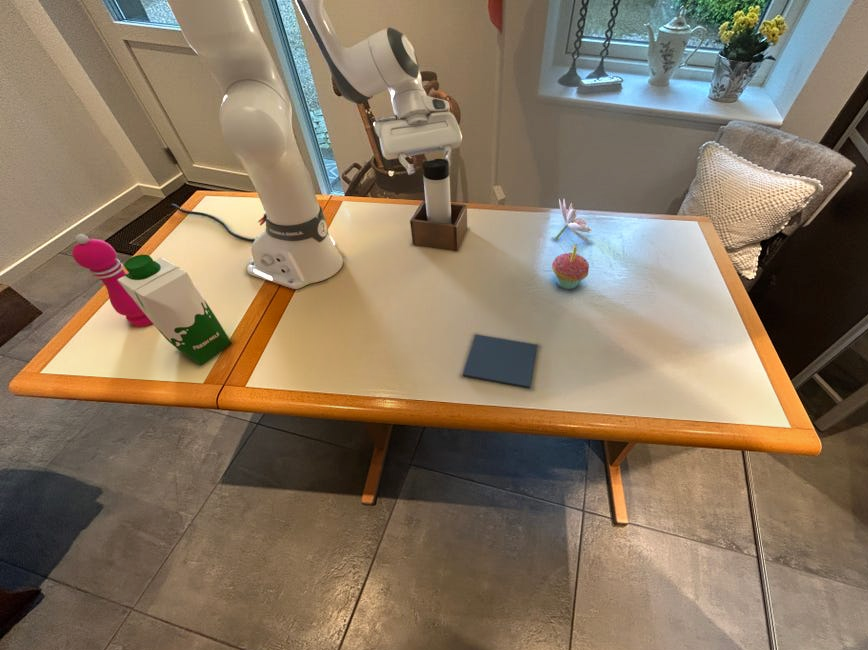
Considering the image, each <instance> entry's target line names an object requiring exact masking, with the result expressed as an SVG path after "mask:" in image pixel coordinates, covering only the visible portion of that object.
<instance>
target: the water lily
mask: <svg viewBox="0 0 868 650" xmlns="http://www.w3.org/2000/svg"><path fill="white" fill-rule="evenodd" d="M558 202H559V203H558V204H559V209H560V213H561V216H562V218H563V220H564V223H565V226H563V228H562V229H561V230H560V231H559V232H558V234H557V235H556V236H555V238H554V240H556V241H557V240H558V239H559V237H560V236H561V235H562V233H564V232H565V230H566V229H567V228H568V229H569V230H570V231H571V232H572V233H573V234H574V235H576V237H578V238H579V239H581V240H582V241H584V242H585V243H588V244H591V242H590V241H589V240H588V238H586V237H585V236H584V235H582V233H591V232H592V229H591V228H590V227H589V226H586V225H587V224H588V222H587V221H585V219H584V218H582V217H577V210H576V209H574V207H573V202H572V201H571V202H570V205H569V207H568V209H567V205H566V199H563V203H562V201H561V198H559V199H558ZM567 210H568V211H567ZM579 232H581V233H579Z"/></svg>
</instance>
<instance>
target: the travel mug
mask: <svg viewBox="0 0 868 650" xmlns="http://www.w3.org/2000/svg"><path fill="white" fill-rule="evenodd" d="M422 177H423V184H424V185H423V187H424V198H425V199H424V200H426V210H427V221H429V222H436V223H444V224H452V223H451V203H452V202H451V179H450V167H449V162H448V161H447V160H445V158H434V159H430V160H425V161H423V162H422Z"/></svg>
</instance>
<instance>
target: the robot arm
mask: <svg viewBox="0 0 868 650" xmlns="http://www.w3.org/2000/svg"><path fill="white" fill-rule="evenodd" d="M165 1H166V3H167V5H168V7H169V9H170V11H171V13H172V15H173V17H174V19H175V20H176V21H175V22H177V24H178V27H179V29H180V31H181V33H182V35H183V37H184V39H185V41H186V43H187V44H188V45H189V47H190V48H191V49H192V50H193V51H194V52H195V53H196V55H197V56H198V57H199V58H200V60H201V62H202V63H203V65H204V66H205V68H206V69H207V70H208V72H209V74H210V76H211V77H212V78H213V80H214V82H215V84H216V85H217V87H218V89H219V92H220V94H221V98H222V101H221V104H220V107H219V111H218V120H219V126H220V131H221V134H222V137H223V139H224V142H225V144H226V146H227V147H228V149H229V150H230V151H231V152H232V153H233V154H234V155H235V157H236V159H237V160H238V162H239V163H240V165H241V166H242V169H244V171H245V173H246V174H247V176H248V177H249V179H250V181H251V183H252V185H253V187H254V189H255V191H256V193H257V196H258V199H259V201H260V203H261V206H262V207H263V210H264V213H263V216H262V217H260V219H259V220H258V221H257V222H258V223H259V226H262V225H264V224H265V228H264V229H263V231H261V233H260V234H258V235H257V236H256V237H255V238H249V237H245V236H242V235H239V234H237V233H235V232H233V231H232V230H231V229H230V228H229V227H228V225H227V224H226V223H225V222H224V221H223V220H221V219H219V218H218V217H216V216H214V215H212V214H209V213H206V212H200V211H192V210H186V209H185V208H184V209H183V208H182V207H180V206H178V205H177V204H175V203H171V204H170V205H169V208H170V209H173V208H175V209H176V210H178V211H180V212H181V213H184V214H190V215H195V216H196V215H197V216H204V217H206V218H210V219H212V220H214V221H215V222H217V223H219V224H220V225H221V226H223V228H224V229H225V230H226V232H227V233H228V234H229V235H231V236H232V237H234V238H237V239H239V240H242V241H245V242H249V243H250V242H252V245H251V249H250V251H251V256H252V257H251V258H250V260H249V261H248V264H247V267H246V271H247V274H248V275H250V276H253V277H256V278H259V279H262V280H265V281H268V282H271V283H274V284H277V285H280V286H283V287H286V288H289V289H292V290H298V289H299V290H300V289H301V288H303V287H305V286H307V285H311V284H314V283H319V282H323V281H325V280H327V279H329V278H332V277H333V276H335V275H336V274H337V273H338V272H339V271H340V270H341V268H342V267H343V263H344V258H343V256H342V255H341V253H340V252H339V250H338V249H337V247H336V242H335V241H334V239H333V237H332V236H331V235H330V233H329V230H328V223H327V220H326V217H325V213H324V211H323V208H322V206H321V205H320V204H319V201H318V198H317V194H316V191H315V188H314V184H313V181H312V178H311V175H310V172H309V169H307V167H306V163H305V162H304V160H303V157H302V155H301V152H300V150H299V147H298V145H297V141H296V138H295V135H294V130H293V123H292V121H293V120H292V118H293V117H292V115H293V108H292V102H291V100H290V97H289V95H288V92H287V90H286V87H285V85H284V82H283V80H282V78H281V76H280V74H279V71H278V69H277V66H276V63H275V62H274V60H273V58H272V55H271V53H270V51H269V49H268V47H267V45H266V43H265V40H264V39H263V36H262V34H261V31H260V29H259V27H258V24H257V21H256V19H255V16H254V13H253V12H252V8H251V6H250V3H249V1H248V0H165ZM294 1H295V3H296V6H297V7H298V9H299V11H300V13H301V16H302V18H303V19H304V22H305V24H306V26H307V27H308V30H309V31H310V33H311V35H312V38H313V39H314V41H315V43H316V45H317V47H318V49H319V51H320V53H321V55H322V57H323V58H324V60H325V63H326V65H327V67H328V69H329V71H330V74H331V77H332V78H333V81H334V83H335V85H336V88H337V89H338V91H339V93H340V94H341V96H342V97H343V99H346V100H347V101H349V102H351V103H354V104H357V105H363V104H364V103H366V102H367V101H369V100H370V99H372V98H374V96H377V95H379V94H380V93H382V92H385V91H388V92H389V94H390V101H391V106H392V109H393V113H394V115H389V116H385V117H384V116H381V117H377V119H376V120H375V121H374V122H373V129H374V133H375V135H376V136H377V138H379V143H380V145H379V146H380V150H381V154H382V157H383V158H384V159H386V160H388V161H391V160H396V159H398V160H399V163H400V164H401V165H402V166H403V167H404V168H405V170H406V171H407V172H406V173H407V175H408V176H410V175H415V173H416V169H415V168H414V167H415V166H414V164H413V163H409V162H408V160H406V159H407V157H412V156H413V157H414V156H418V155H424V154H430V153H436V152H437V153H438V152H441V151H442V152H443V154H444V155H445V158H444V159H445V160H447V161H448V162H449V168H451V166H452V163H451V159H450V157H451V153H452V150H453V149H458V148H459V147H460V145H461V143H462V141H463V134H462V131H461V129H460V125H459V123H458V120H457V118H456V117H455V115H454V114H453V113H452V112H451V111H450V108H451V107H450V102H449V101H448V100H447V99H442V98H437V97H433V96H430V95H428V93H427V92H426V90H425V88H424V87H423V78H422V74H421V71H420V65H419V61H418V57H417V55H416V54H417V53H416V52H415V49H414V46H413V44H412V42H411V40H410V39H409V38H408V36H406V35H405V34H404V33H403V32H401V31H399V30H397V29H396V28H393V27H390V26H388V27H386V28H383V29H381V30H379V31H377V32H376V33H373V34H372V35H370V36H369V37H367V38H365V39H363V40H361V41H360V42H358V43H356V44H354V45H352V46H349V47H346V46H343V45H342V43H341V42H340V39H339V37H338V35H337V33H336V30H335V27H334V26H333V24H332V22H331V20H330V18H329V15H328V13H327V11H326V8H325V6H324V1H325V0H294ZM180 208H181V209H180Z"/></svg>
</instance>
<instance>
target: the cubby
mask: <svg viewBox="0 0 868 650" xmlns="http://www.w3.org/2000/svg"><path fill="white" fill-rule="evenodd" d="M451 223H452V224H444V223H436V222H429V221H427V210H426V199H422V200H421V202H420V204H419V205H418V207H417V208H416V210H415V212H414V213H413V215H412V217H411V218H410V220H409V224H410V232H411V233H410V234H411V239H412V245H413V246H420V247H426V248H434V249H441V250H448V251H454V252H455V251H456V252H458V250H459V248H460V246H461V243H462V241H463V239H464V237H465V235H466V232H467V230H468V205H467V204H464V203H463V204H462V203H456V202H451Z"/></svg>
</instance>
